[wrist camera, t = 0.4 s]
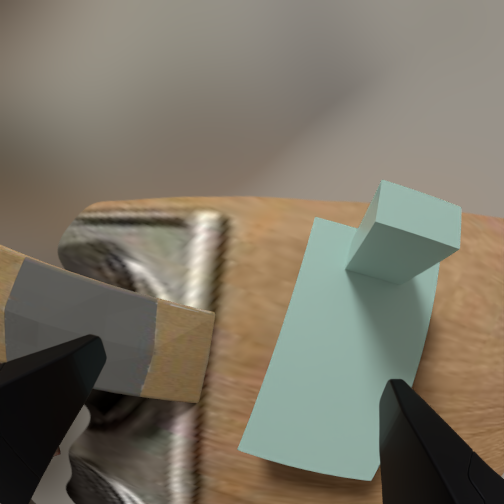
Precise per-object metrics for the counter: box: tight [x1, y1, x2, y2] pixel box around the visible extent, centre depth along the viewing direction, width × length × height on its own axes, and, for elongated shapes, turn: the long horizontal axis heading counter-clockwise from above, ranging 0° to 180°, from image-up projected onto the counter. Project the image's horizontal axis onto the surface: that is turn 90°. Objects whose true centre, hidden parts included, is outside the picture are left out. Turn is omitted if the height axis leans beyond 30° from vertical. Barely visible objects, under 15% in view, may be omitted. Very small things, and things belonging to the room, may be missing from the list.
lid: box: [237, 180, 461, 481], centre depth 13 cm, size 17×10×10 cm, turn 161°
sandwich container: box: [0, 245, 215, 403], centre depth 17 cm, size 9×15×15 cm, turn 79°
